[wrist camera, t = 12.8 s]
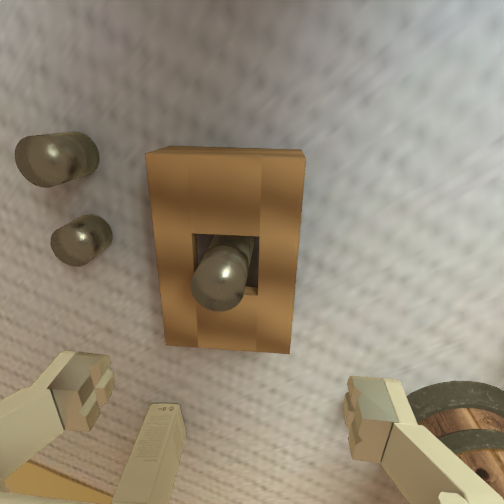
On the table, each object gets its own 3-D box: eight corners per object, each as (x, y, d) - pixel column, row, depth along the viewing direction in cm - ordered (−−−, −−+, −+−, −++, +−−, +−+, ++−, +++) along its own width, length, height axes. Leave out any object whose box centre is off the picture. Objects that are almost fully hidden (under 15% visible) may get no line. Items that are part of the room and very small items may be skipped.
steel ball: (71, 213, 33) (46, 226, 30) (109, 215, 33) (87, 228, 29) (79, 249, 35) (56, 265, 31) (115, 250, 35) (95, 267, 31)
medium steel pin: (54, 131, 30) (8, 135, 25) (95, 132, 30) (57, 136, 25) (63, 174, 32) (22, 186, 27) (102, 175, 31) (68, 188, 26)
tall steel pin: (215, 219, 32) (188, 262, 23) (255, 221, 32) (244, 266, 23) (215, 256, 34) (191, 309, 25) (253, 258, 34) (243, 313, 24)
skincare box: (149, 402, 43) (105, 502, 32) (182, 402, 43) (147, 503, 32) (159, 434, 46) (120, 536, 35) (189, 434, 45) (160, 538, 34)
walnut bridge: (170, 145, 30) (145, 153, 24) (301, 149, 29) (305, 158, 23) (183, 310, 37) (166, 345, 31) (288, 317, 36) (289, 354, 31)
